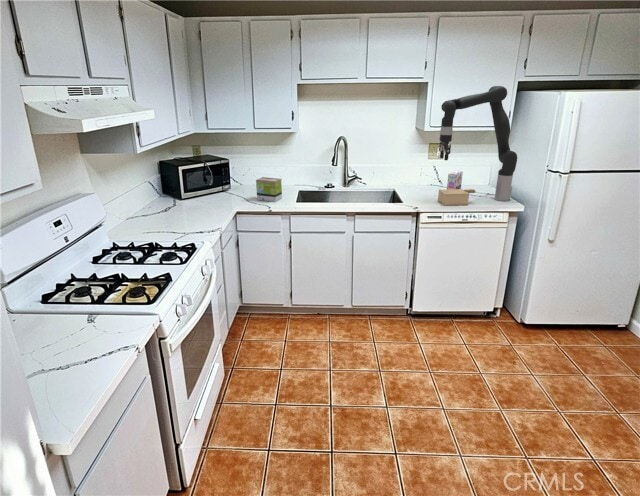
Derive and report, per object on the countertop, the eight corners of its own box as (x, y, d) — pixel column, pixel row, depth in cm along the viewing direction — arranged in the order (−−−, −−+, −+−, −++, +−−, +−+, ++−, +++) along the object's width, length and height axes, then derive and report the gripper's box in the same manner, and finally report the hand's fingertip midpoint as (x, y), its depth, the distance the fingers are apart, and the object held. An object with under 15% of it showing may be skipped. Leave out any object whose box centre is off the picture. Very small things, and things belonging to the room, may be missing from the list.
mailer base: (460, 200, 281) (461, 190, 279) (467, 205, 270) (468, 194, 268) (437, 201, 280) (438, 191, 278) (443, 205, 269) (445, 195, 267)
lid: (470, 190, 279) (470, 187, 278) (477, 194, 268) (478, 192, 267) (438, 191, 278) (439, 188, 277) (445, 195, 267) (445, 192, 266)
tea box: (256, 200, 286) (255, 179, 281) (263, 197, 295) (262, 176, 289) (275, 202, 281) (274, 181, 276) (282, 198, 290) (281, 178, 284)
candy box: (453, 197, 290) (456, 174, 283) (445, 196, 293) (448, 173, 287) (460, 193, 300) (463, 171, 294) (452, 192, 303) (455, 170, 297)
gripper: (456, 134, 257) (453, 160, 263) (447, 132, 270) (445, 157, 276) (444, 135, 257) (441, 161, 263) (436, 132, 270) (434, 157, 276)
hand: (443, 159), depth 270 cm, fingers open, 8 cm apart
